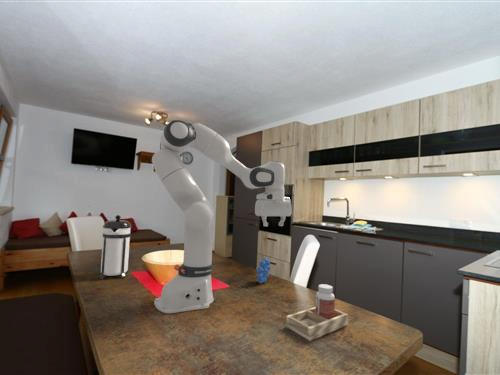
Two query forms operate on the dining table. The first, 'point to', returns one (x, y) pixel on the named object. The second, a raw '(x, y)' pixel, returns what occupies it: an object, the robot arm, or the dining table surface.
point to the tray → (315, 323)
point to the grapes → (263, 270)
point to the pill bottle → (325, 301)
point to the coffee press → (115, 248)
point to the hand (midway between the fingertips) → (273, 226)
